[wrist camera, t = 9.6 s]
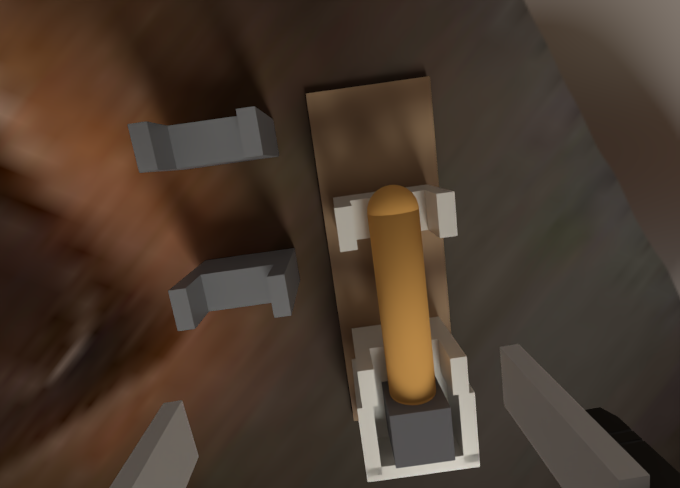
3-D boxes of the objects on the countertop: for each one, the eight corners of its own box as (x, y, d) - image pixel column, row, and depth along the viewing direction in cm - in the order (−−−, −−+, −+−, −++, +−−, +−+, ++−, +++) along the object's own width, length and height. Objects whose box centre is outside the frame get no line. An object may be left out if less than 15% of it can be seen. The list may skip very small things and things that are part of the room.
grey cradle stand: (177, 132, 32) (127, 124, 24) (273, 119, 32) (254, 106, 24) (212, 292, 35) (178, 331, 27) (299, 279, 35) (291, 315, 27)
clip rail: (306, 95, 32) (305, 93, 31) (427, 78, 32) (429, 76, 31) (353, 415, 38) (354, 421, 38) (454, 401, 38) (457, 406, 38)
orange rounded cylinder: (356, 187, 29) (361, 192, 24) (415, 179, 29) (431, 182, 24) (387, 428, 33) (396, 468, 29) (439, 421, 33) (455, 460, 29)
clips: (328, 198, 33) (328, 209, 26) (431, 183, 33) (460, 190, 26) (360, 420, 38) (367, 482, 30) (451, 407, 38) (480, 466, 30)
